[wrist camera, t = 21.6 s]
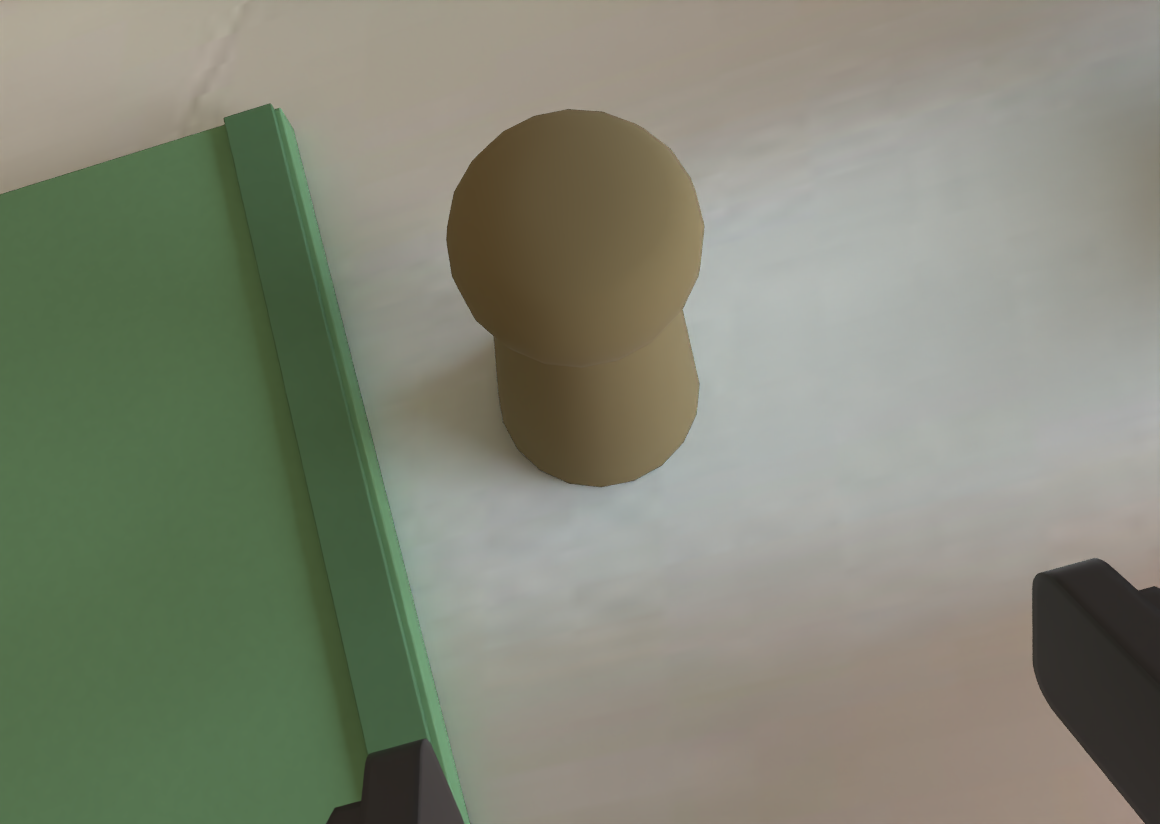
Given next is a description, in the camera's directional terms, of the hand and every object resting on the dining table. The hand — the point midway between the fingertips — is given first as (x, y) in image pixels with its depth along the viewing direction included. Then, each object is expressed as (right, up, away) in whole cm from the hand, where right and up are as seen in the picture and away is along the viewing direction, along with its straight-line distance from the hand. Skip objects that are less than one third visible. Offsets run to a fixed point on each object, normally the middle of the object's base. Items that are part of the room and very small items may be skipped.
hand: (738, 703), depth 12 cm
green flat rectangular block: (-14, +1, +15) cm, 21 cm away
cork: (-1, +4, +16) cm, 16 cm away
